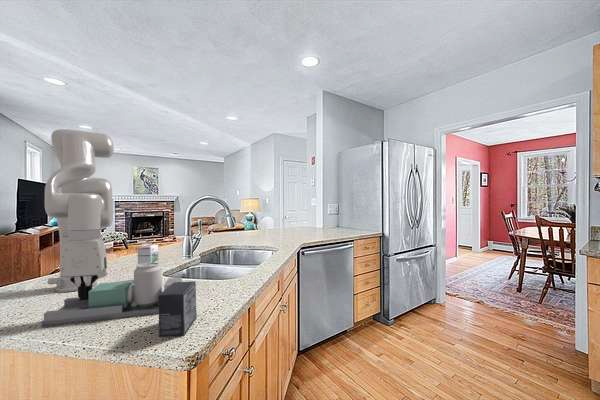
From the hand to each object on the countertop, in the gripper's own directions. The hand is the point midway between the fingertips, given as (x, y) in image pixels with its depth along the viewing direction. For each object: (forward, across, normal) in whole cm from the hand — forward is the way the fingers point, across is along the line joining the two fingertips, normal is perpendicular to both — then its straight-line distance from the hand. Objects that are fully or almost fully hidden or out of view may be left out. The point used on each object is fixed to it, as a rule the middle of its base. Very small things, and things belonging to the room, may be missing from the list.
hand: (85, 298), depth 81 cm
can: (+3, +16, 0) cm, 17 cm away
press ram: (+3, +7, 0) cm, 8 cm away
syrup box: (+5, +9, +34) cm, 36 cm away
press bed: (+5, +9, 0) cm, 10 cm away
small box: (+5, +27, -17) cm, 32 cm away
